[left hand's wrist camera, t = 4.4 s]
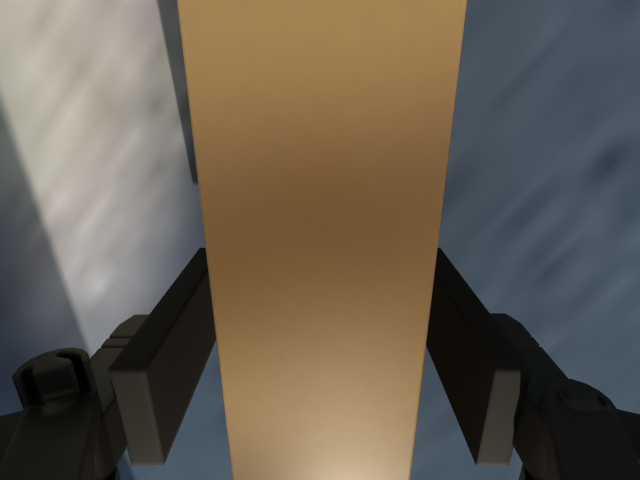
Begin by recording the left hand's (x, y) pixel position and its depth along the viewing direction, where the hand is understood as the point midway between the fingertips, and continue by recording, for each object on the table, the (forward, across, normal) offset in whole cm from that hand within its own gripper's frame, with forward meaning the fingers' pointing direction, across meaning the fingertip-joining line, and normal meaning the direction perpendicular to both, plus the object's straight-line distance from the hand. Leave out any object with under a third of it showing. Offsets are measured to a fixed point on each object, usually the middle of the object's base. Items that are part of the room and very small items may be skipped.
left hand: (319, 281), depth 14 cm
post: (+1, 0, -19) cm, 19 cm away
